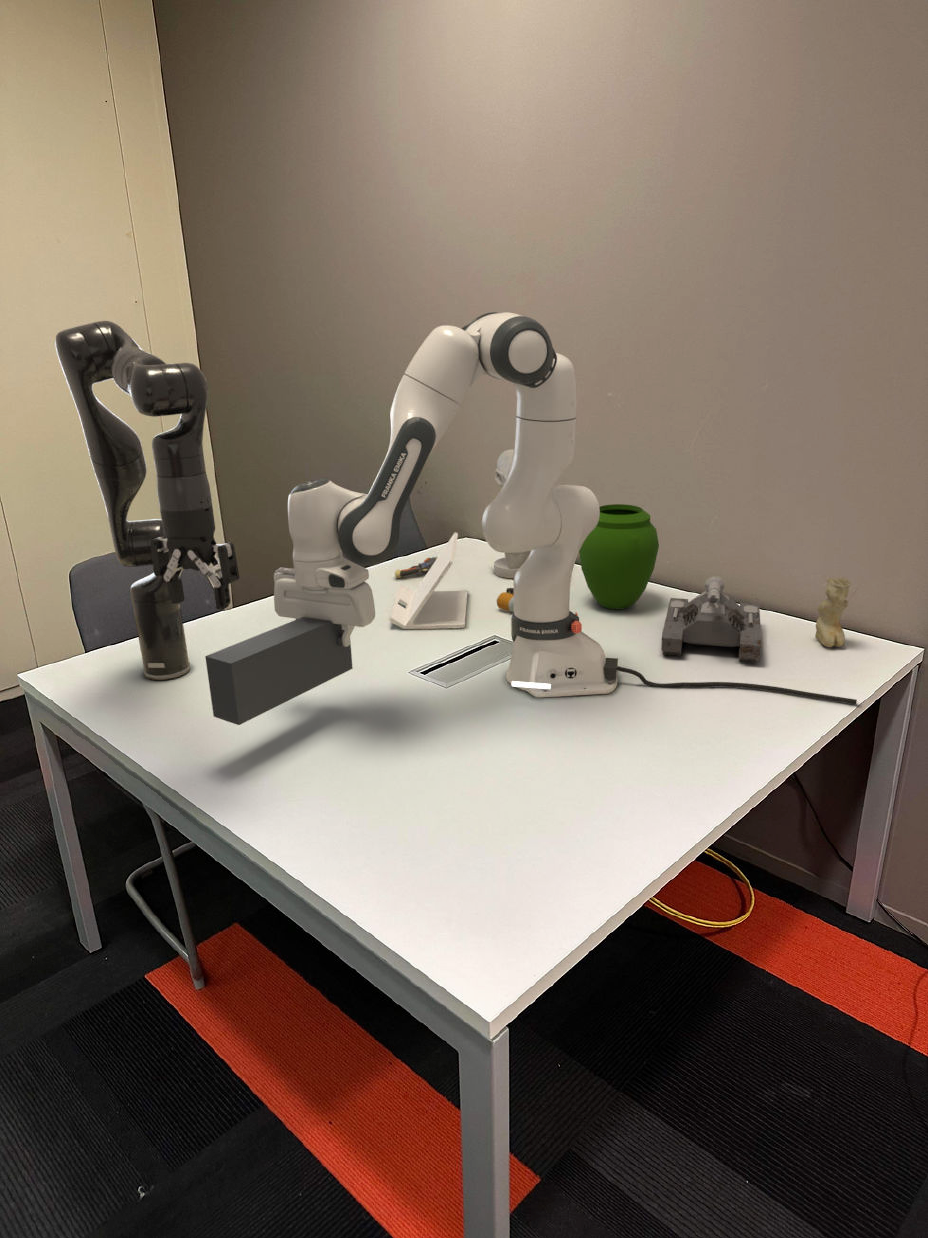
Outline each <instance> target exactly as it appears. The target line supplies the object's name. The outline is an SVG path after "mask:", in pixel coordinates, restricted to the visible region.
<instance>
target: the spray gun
mask: <svg viewBox="0 0 928 1238" xmlns="http://www.w3.org/2000/svg"><path fill="white" fill-rule="evenodd" d="M496 605H497V607H498V609H501V610H504V611H506V612H510V613H512V612H513V611H514V587H507V588H506V591H505V592H501V593H500V594H499V595H498V596H497V598H496Z"/></svg>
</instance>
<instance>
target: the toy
mask: <svg viewBox="0 0 928 1238" xmlns="http://www.w3.org/2000/svg"><path fill="white" fill-rule="evenodd" d="M704 589H705V590H704V591H702V592H701V593H700V594H698V595H697V596H696V597H694V598H693V599H691V600H690V601H689V598H679V597H670V598H669V602H668V605H667V611H666V615H665V620H664V625H663V629H662V635H661V648H660V649H661V652H662V655H668V656H678V657H679V656H681V655H682V650H683V643H686V644H690V645H703V646H715V647H727V648H734V647H738V660H739V661H740V660H742V661H755V662H758V660H760V657H761V652H762V628H761V610H760V609H761V608H760V603H751V602H750V603H749V602H740V603H737V602H736V601H735V600H734V599H732V597H730V595H727V594H725V593H724V589H725V582H724V580H723V579H722V578H721V577H720V576H717V575H716V576H715V575H714V576H712V575H711V576H710V577H709V578H708V579H707V580H705V582H704Z"/></svg>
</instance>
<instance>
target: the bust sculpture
mask: <svg viewBox="0 0 928 1238" xmlns="http://www.w3.org/2000/svg"><path fill="white" fill-rule="evenodd" d="M513 455H514V448H512V449H506V450H504V451H502V452H501V454H500V455H499V457H498V459H497V461H496V468H495V471H494V480H495V482H496V484H497V486H498V487H501V488H502V487H503V485H504V483H505V481H506V478H507V476H508V474H509V471H510V468H511V465H512V461H513ZM530 552H531V550H530V551H526V552H522V553H504V557H502V558H498V559H496V560H495V561H494V562H493V573H494V574H495V575H496V576H497V577H500V578H506V579H514V576H515V574H516V572H517V570H518V569H519V568H520V567H521V566H522V565H523V564H524V562H525V561H526V560H527V558H528V557H529V554H530Z"/></svg>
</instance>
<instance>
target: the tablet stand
mask: <svg viewBox="0 0 928 1238" xmlns="http://www.w3.org/2000/svg"><path fill="white" fill-rule="evenodd" d="M458 537H459V533H458V532H456V531H455V532H453V534H452V535H451V537H450V539H449V540H448V542H447V543H446V544H445V546H444V548H443V549H442V551H441V552H440V554H439V555H438V556H437V557H438V558H437V559H436V561H435V562H434V564H433V565H432V567H431V568H430V569H429V571H427V573H426V574H425V575H424V577H423V579H422V580H421V581H420V583H419V584H418V585H417V587H416V589H415V590H412V589H410V588H409V587H407V586H406V585H403V584H400V585H399V586H398V589H397V591H396V595H395V598H394V601H393V604H392V607H391V610H390V612H389V613H390V614H389V617H388V621H389V622H391V623H392V624H394V625H396V626H398V627H399V628H401V629H402V630H426V629H427V630H429V629H430V630H431V629H435V630H436V629H437V630H438V629H464V628H465V627H466V618H467V617H466V616H467V605H468V591H467V590H436V589H437V587H438V585H440V582H441V581H442V580H443V578H444V577H445V575H446V574H447V573H448V571H449V570H450V569H451V567H452V566H453V564H454V562H455V558H456V553H457V545H458ZM399 603H400V604H399ZM402 605H403V606H405V607H403V606H402Z"/></svg>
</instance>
